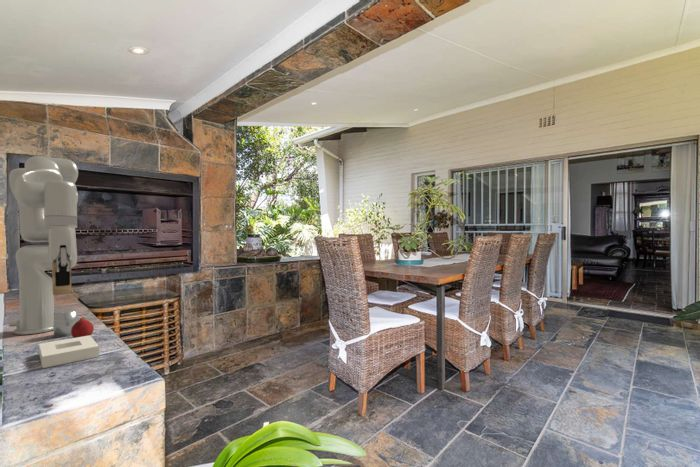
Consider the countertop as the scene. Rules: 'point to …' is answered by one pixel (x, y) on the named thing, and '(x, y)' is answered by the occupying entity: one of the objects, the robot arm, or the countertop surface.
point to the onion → (82, 328)
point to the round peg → (64, 322)
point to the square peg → (60, 289)
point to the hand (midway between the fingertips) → (62, 284)
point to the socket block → (67, 351)
